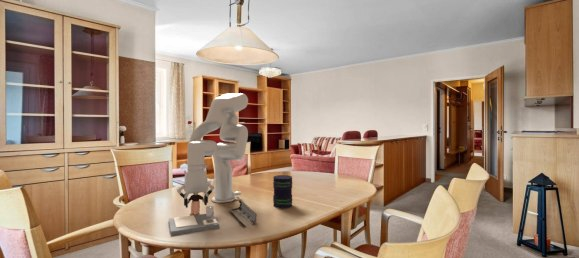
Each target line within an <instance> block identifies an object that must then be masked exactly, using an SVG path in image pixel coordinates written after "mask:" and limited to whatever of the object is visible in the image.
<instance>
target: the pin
mask: <svg viewBox="0 0 579 258" xmlns="http://www.w3.org/2000/svg"><path fill="white" fill-rule="evenodd" d="M214 208H215V207H214V206H213V205H208V206H207V205H206V206H205V214H206V222H207V223H211V222H214V217H215V216H214V214H215V213H214V212H215V211H214V210H215V209H214Z"/></svg>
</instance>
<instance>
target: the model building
mask: <svg viewBox="0 0 579 258" xmlns="http://www.w3.org/2000/svg"><path fill="white" fill-rule="evenodd" d="M236 198H237V199H238V200H239V201H238V204H239V207H237V208H230V207H229V206H228V207H227V209H228V210H229V211H230V212H231V213H232V214H233V216H235V218H236V219H238V221H239V222H241V224H242V225H243V226H245V227H247V226H246V225H245V224H244V223H243V222H242V221H241V219H240V218H238V216H237V215H236V214H235V212H237V213H239V215H240V216H242V217H243V218H244V219H245V220H246V221H248V222H249V223H250V224H251V225H252V226H253V225H254V224H255V223H256V222H257V213H256V212H255V211H253V210H252V209H251V207H249V206H248V205H247V204H246V203H245V201H243V200H242V199H241V198H240V197H239V196H236Z"/></svg>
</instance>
